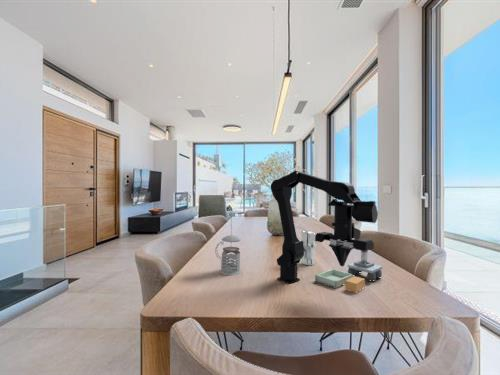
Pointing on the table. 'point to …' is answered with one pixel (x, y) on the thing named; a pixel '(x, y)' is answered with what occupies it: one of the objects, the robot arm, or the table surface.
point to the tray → (333, 277)
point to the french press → (230, 256)
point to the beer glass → (308, 247)
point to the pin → (364, 257)
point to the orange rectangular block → (354, 284)
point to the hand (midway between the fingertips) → (342, 266)
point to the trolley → (366, 269)
